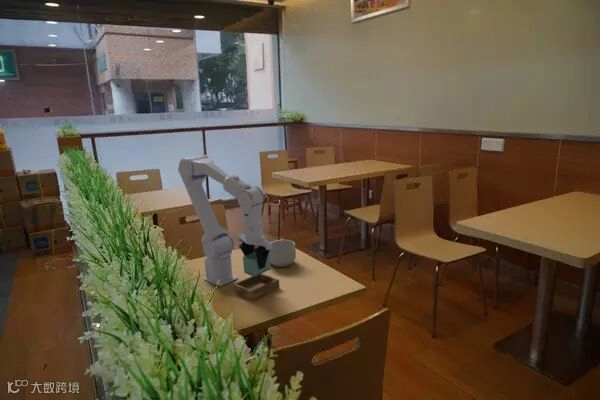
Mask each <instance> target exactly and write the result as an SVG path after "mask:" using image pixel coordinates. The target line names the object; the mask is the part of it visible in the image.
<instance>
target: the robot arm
mask: <svg viewBox="0 0 600 400" xmlns="http://www.w3.org/2000/svg"><path fill="white" fill-rule="evenodd" d="M177 171H178V173H179V176H180V178H181V180H182V182H183V184H184V187H185V189H186V192H187V194H188V196H189V199H190V202H191V203H192V206H193V208H194V210H195V213H196V215H197V218H198V221H199V223H200V224H201V227H202V229H203V231H204V234H203V236H202V238H201V240H200V242H201V244H202V250H203V253H204V256H205V259H204V267H205V271H204V272H205V277H204V278H203V279H204V280H205V281H207V282H209V283H211V284H213V285H216V283H217V281H218V280H219V279H220V281H219V284H218V285H216V286H218V287H222V286H225V285H226V284H229V283H231V282H234V281H236V280H238V279H239V277H238V276H236V275H233V269H232V255H231V254H233V253H232V252H233V250H234V249H235V240H234V238H233V237H232V236H231V234H230V233H229V231H228V229H227V228H224V227H222V226H221V225H220V224H219V222H218V219H217V217H216V214H215V212H214V209H213V207H212V205H211V203H210V201H209V198H208V196H207V193H206V191H205V189H204V186H203V184H204V181H205V180H206V179H207V177H209V178H211V179H213V180H215V181H216V182H217V183H219V184H220V185H222V188H223V190H224V191H225V192H227V193H228V194H229V195H230V196H232V197H234V199H236V200H237V202H238V205H239V207H240V211H241V213H242V219H243V229H244V231H243V232H244V234H243V233H242V234H238V235H237V242H240V243H241V244H239V245H238V248H239V249H240V250H241V252H242V254H243V257H244V256H246V255H249V254H251V253H254V252H255V254H256V257H257V260H258V266H259V269H262V268H265V265H266V260H267V256H268V254H269V251H270V250H271V249H272V248H273V247H272V242H273V241H272V242H271V241H270V240H268V239H266V236H265V235H264V231H263V218H262V206H261V204H262V203H263V202H264V201H265V194H264V192H263V190H262V189H261V187H259V186H258V185H257V186H256V185H255V186H253V185H250V184H249V183H247V182H245V181H244V180H242V179H240V176H238V175H229V174H228V173H226V172H225V171H224V170H223V169H221V168H220V167H219V166H218V165H216V164H215V162H214V161H213V158H211V157H209V156H208V155H206V154H201V155H197V156H192V157H184V158H181V159H180V161H179V163H178V167H177ZM255 245H256V246H259V248H256V249H254V247H255Z"/></svg>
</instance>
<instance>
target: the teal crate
mask: <svg viewBox="0 0 600 400" xmlns="http://www.w3.org/2000/svg"><path fill="white" fill-rule="evenodd" d="M242 260H243V261H242V263H243V272H244V274H247V275H249V276H250V277H251V276H254V277H255V276H257V275H259V274H264V273H266V272H267V271H270V270H271V268H272V267H271V263H270V254H268V256H267V260H266V265H265V268H262V269H259V266H258V260H257V257H256V254H255V252H254V253H251V254H249V255H246V256H244V255H243V256H242Z"/></svg>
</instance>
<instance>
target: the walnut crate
mask: <svg viewBox="0 0 600 400" xmlns="http://www.w3.org/2000/svg"><path fill="white" fill-rule="evenodd" d="M232 285H233V293H235V294H237V295H239V296H241V297H243V298H245V299H248V300H250V301H251V302H252V301H253V302H255V301H256V300H258V299H260V298H262V297H264V296H266V295H268V294H270V293H271V292H274V291H276V290H278V289H280V279H279V278H277V277H273V276H271V275H268V274H264V273H262V274H259V275H257V276H255V277H254V276H251V275H250V276H249V277H246V278H243V279H242V280H239V281H238V282H235V283H233V284H232Z"/></svg>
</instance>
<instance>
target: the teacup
mask: <svg viewBox="0 0 600 400" xmlns="http://www.w3.org/2000/svg"><path fill="white" fill-rule="evenodd" d="M272 247H273V248H272V249H271V250H270V251H269V254H270V265H273V266H275V267H277V268H285V267H288V266H290V265H292V264H293V262H295V260H296V256H297V253H296V250H297V249H296V242H295V241H293V240H290V239H284V238H280V239H279V240H275V241H272Z"/></svg>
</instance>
